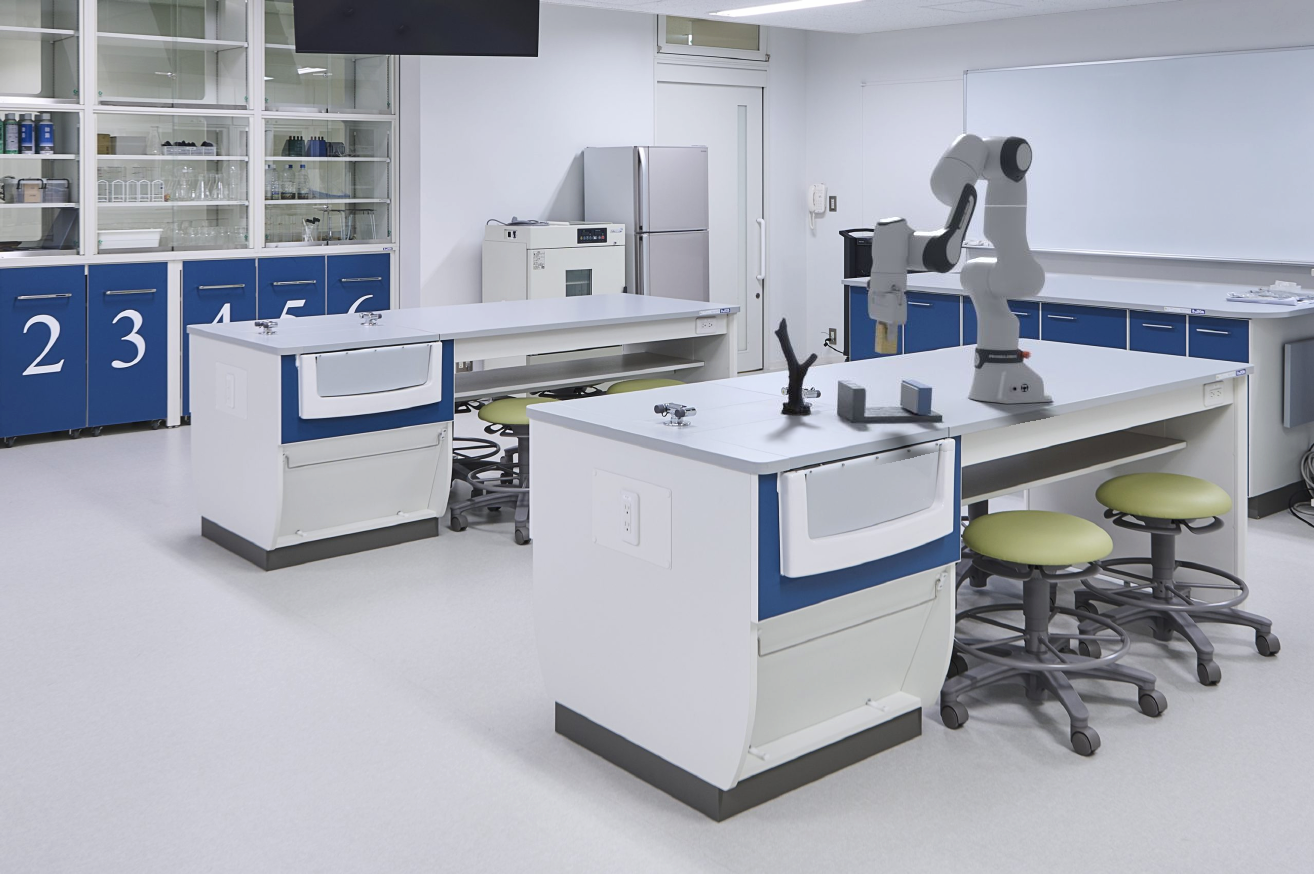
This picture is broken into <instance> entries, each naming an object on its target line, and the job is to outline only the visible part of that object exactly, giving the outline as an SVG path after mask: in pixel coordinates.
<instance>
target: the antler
mask: <svg viewBox="0 0 1314 874" xmlns="http://www.w3.org/2000/svg"><path fill="white" fill-rule="evenodd" d="M774 335H775V336H776V337H777V339H778V342H779V344H780V348H781V351H782V353H783V355H784V358H785V361H786V362H787V371H788V383H787V389H786V392H787V394H788V396H787V399H788V401H786V402H785V401H784V402H782V409H781V411H780V413H782V414H787V415H790V416H801V415H803V416H804V415H809V414H811V413H812V410H811V406H810V405H809V404H807V403H806V404H805V403H804V400H803V386H804V384H803V383H804V379H805V377H806V376H807V374H808V371H809V369H810V367H812V366H813V364H814V363H815V362H816V361H817V359H818V357H819V355H818V354H816V353H811V354H810V355H809V357H807V359H806V360H805V361H804V362H802V363H799V361H798V359H797V357H796V354H795V351H794V348H793V346H792V343H791V341H790V339H791V338H790V337H789V332H788V324H787V320H786V317H782V319H781V320H780V322H779V325H778V329H777V330H775V331H774Z"/></svg>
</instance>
